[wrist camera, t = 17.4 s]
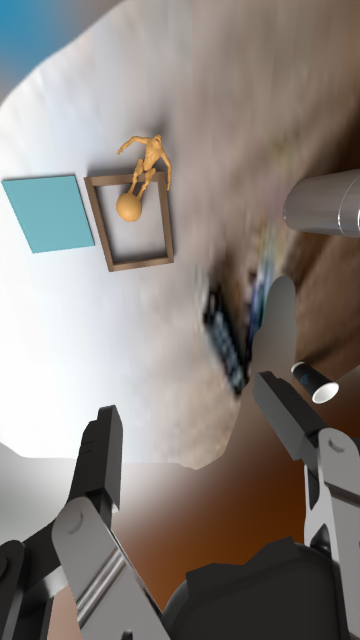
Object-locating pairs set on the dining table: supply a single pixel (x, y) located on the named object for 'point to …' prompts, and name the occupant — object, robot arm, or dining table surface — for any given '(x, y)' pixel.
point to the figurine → (128, 202)
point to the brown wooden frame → (90, 186)
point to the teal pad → (50, 213)
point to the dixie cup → (314, 382)
